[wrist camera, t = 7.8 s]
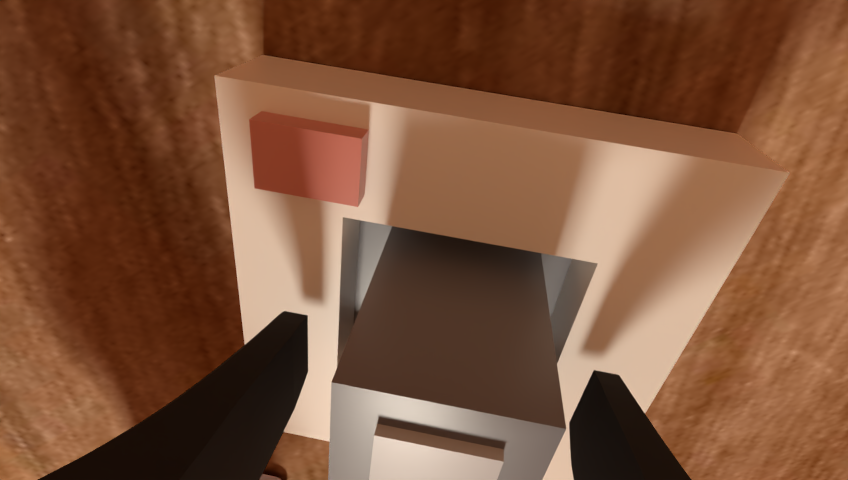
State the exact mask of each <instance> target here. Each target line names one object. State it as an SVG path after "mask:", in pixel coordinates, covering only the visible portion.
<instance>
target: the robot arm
mask: <svg viewBox="0 0 848 480" xmlns="http://www.w3.org/2000/svg"><path fill="white" fill-rule="evenodd" d="M307 373H308V315H303V314H298V313H293V312H287V311H283V312H282V313H280V314H279V315H278V316H277V317H276V318H275V319H274V320H272V321H271V322H270V323H269V324H268V325H267V326H266V327H265V328H264V329H262V330H261V331H260V332H259V333H258V334H257V335H256V336H254V337H253V338H252V339H251V340H250V341H249V342H248V343H246V344H245V345H244V346H243V347H242V348H241V349H239V350H238V351H237V352H236V353H234V354H233V355H232V356H231V357H230V358H228V359H227V360H226V361H225V362H224V363H222V364H221V365H220V366H219V367H217V368H216V369H215V370H214V371H212V372H211V373H210V374H208V375H207V376H206V377H204V378H203V379H202V380H200V381H199V382H198V383H196V384H195V385H194V386H192V387H191V388H190V389H188V390H187V391H186V392H184V393H183V394H182V395H180V396H179V397H178V398H176V399H175V400H173V401H172V402H170V403H169V404H168V405H166V406H165V407H163V408H162V409H160V410H159V411H157V412H156V413H154V414H153V415H151V416H150V417H148V418H146V419H145V420H143V421H142V422H140V423H139V424H137V425H135V426H134V427H132V428H131V429H129V430H127V431H126V432H124V433H122V434H121V435H119V436H117V437H116V438H114V439H112V440H111V441H109V442H107V443H105V444H104V445H102V446H100V447H99V448H97V449H95V450H93V451H92V452H90V453H88V454H86V455H84V456H83V457H81V458H79V459H77V460H75V461H73V462H71V463H69V464H67V465H65V466H63V467H61V468H60V469H58V470H56V471H54V472H52V473H50V474H48V475H46V476H44V477H42V478H40V479H38V480H281V479H280V478H278V477H275V476H270V475H266V474H262V473H263V471H264V469H265V467H266V465H267V463H268V462H269V460H270V458H271V456H272V454H273V452H274V450H275V448H276V446H277V444H278V442H279V440H280V438H281V436H282V434H283V432H284V429H285V427H286V425H287V423H288V421H289V419H290V417H291V415H292V413H293V411H294V409H295V406H296V404H297V401H298V398H299V396H300V393H301V390H302V388H303V385H304V382H305V379H306V376H307ZM569 432H570V453H571V466H572V472H573V478H574V480H691V479H690V477H689V476H688V475H687V473H686V472H685V471H684V469H683V468H682V467H681V465H680V464H679V462H678V461H677V460H676V458H675V457H674V455H673V454H672V453H671V451H670V450H669V448H668V447H667V445H666V444H665V443H664V441H663V440H662V438H661V437H660V435H659V434H658V433H657V431H656V430H655V428H654V427H653V425H652V424H651V422H650V421H649V419H648V418H647V416H646V415H645V413H644V412H643V410H642V409H641V407H640V406H639V404H638V403H637V401H636V400H635V398H634V397H633V395H632V394H631V392H630V391H629V389H628V388H627V386H626V385H625V383H624V382H623V380H622V379H621V377H620V376H619V375H617V374H612V373H607V372H602V371H596V370H594V371H593V373H592V375H591V377H590V379H589V381H588V384H587V386H586V388H585V390H584V392H583V394H582V396H581V398H580V401H579V403H578V405H577V407H576V409H575V411H574V413H573V416H572V418H571V420H570V422H569Z"/></svg>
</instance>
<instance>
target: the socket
mask: <svg viewBox="0 0 848 480" xmlns="http://www.w3.org/2000/svg"><path fill="white" fill-rule="evenodd" d="M214 77H215V86H216V94H217V103H218V112H219V121H220V130H221V139H222V148H223V157H224V166H225V175H226V183H227V192H228V201H229V210H230V219H231V228H232V237H233V246H234V255H235V264H236V272H237V281H238V290H239V299H240V308H241V317H242V326H243V335H244V344H246V343H248V342H249V341H250V340H251V339H252V338H253V337H254V336H256V335H257V334H258V333H259V332H260V331H261V330H262V329H264V328H265V327H266V326H267V325H268V324H269V323H270V322H271V321H272V320H274V319H275V318H276V317H277V316H278V315H279V314H280V313H282V312H283V311H287V312H293V313H298V314H303V315H308V373H307V376H306V379H305V382H304V385H303V388H302V390H301V393H300V396H299V398H298V401H297V404H296V406H295V409H294V411H293V413H292V415H291V417H290V419H289V421H288V423H287V425H286V427H285V429H284V432H286V433H291V434H296V435H301V436H306V437H311V438H315V439H320V440H325V441H330V412H331V382H332V379H333V377H334V374H335V372H336V369H337V367H338V364H339V361H340V359H341V356H342V354H343V351H344V349H345V346H346V344H347V341H348V338H349V336H350V333H351V331H352V328H353V326H354V323H355V320H356V318H357V315H358V313H359V310H360V308H361V305H362V302H363V300H364V297H365V295H366V292H367V290H368V287H369V284H370V282H371V279H372V277H373V274H374V272H375V269H376V267H377V264H378V261H379V259H380V256H381V254H382V251H383V249H384V246H385V243H386V241H387V238H388V236H389V233H390V231H391V228H392V226H394V227H400V228H405V229H411V230H416V231H422V232H427V233H433V234H438V235H444V236H449V237H455V238H460V239H466V240H471V241H477V242H482V243H488V244H493V245H499V246H504V247H510V248H516V249H521V250H527V251H532V252H538V253H541V256H542V263H543V270H544V277H545V284H546V291H547V298H548V305H549V312H550V319H551V326H552V333H553V340H554V347H555V354H556V361H557V368H558V375H559V382H560V389H561V396H562V403H563V410H564V417H565V424H566V431H565V433H564V435H563V437H562V439H561V441H560V443H559V445H558V448H557V450H556V452H555V454H554V456H553V458H552V460H551V462H550V464H549V467H548V469H547V471H546V473H545V475H544V477H543V479H542V480H574V478H573V472H572V466H571V453H570V432H569V422H570V420H571V418H572V416H573V413H574V411H575V409H576V407H577V405H578V403H579V401H580V398H581V396H582V394H583V392H584V390H585V388H586V386H587V384H588V381H589V379H590V377H591V375H592V373H593V371H594V370H596V371H602V372H607V373H612V374H617V375H619V376H620V377H621V379H622V380H623V382H624V383H625V385H626V386H627V388H628V389H629V391H630V392H631V394H632V395H633V397H634V398H635V400H636V401H637V403H638V404H639V406H640V407H641V409H642V410H643V412H644V413H646V411H647V410H648V408H649V406H650V405H651V403H652V401H653V400H654V398H655V396H656V395H657V393H658V391H659V390H660V388H661V386H662V385H663V383H664V381H665V380H666V378H667V376H668V375H669V373H670V371H671V370H672V368H673V366H674V365H675V363H676V361H677V360H678V358H679V356H680V355H681V353H682V351H683V350H684V348H685V346H686V345H687V343H688V341H689V340H690V338H691V336H692V335H693V333H694V331H695V330H696V328H697V326H698V325H699V323H700V321H701V320H702V318H703V316H704V315H705V313H706V311H707V310H708V308H709V306H710V305H711V303H712V301H713V300H714V298H715V296H716V295H717V293H718V291H719V290H720V288H721V287H722V285H723V283H724V282H725V280H726V278H727V277H728V275H729V273H730V272H731V270H732V268H733V267H734V265H735V263H736V262H737V260H738V258H739V257H740V255H741V253H742V252H743V250H744V248H745V247H746V245H747V243H748V242H749V240H750V238H751V237H752V235H753V233H754V232H755V230H756V228H757V227H758V225H759V223H760V222H761V220H762V218H763V217H764V215H765V213H766V212H767V210H768V208H769V207H770V205H771V203H772V202H773V200H774V198H775V197H776V195H777V193H778V192H779V190H780V188H781V187H782V185H783V183H784V182H785V180H786V178H787V177H788V175H789V173H790V172H788V171H787V170H786V169H784V168H783V167H782V166H780V165H779V164H778V163H776V162H775V161H773V160H772V159H771V158H769V157H768V156H767V155H765V154H764V153H763V152H761V151H760V150H759V149H757V148H756V147H755V146H753V145H752V144H751V143H749V142H748V141H747V140H745V139H744V138H743V137H741V136H740V135H739V134H737V133H730V132H724V131H718V130H712V129H706V128H700V127H694V126H688V125H682V124H676V123H670V122H664V121H658V120H652V119H646V118H640V117H634V116H628V115H622V114H616V113H610V112H604V111H598V110H592V109H586V108H580V107H574V106H568V105H562V104H556V103H550V102H544V101H538V100H532V99H526V98H520V97H514V96H508V95H502V94H496V93H490V92H483V91H477V90H471V89H465V88H459V87H453V86H447V85H441V84H435V83H429V82H423V81H417V80H411V79H405V78H399V77H393V76H387V75H381V74H375V73H369V72H363V71H357V70H351V69H345V68H339V67H333V66H327V65H321V64H315V63H309V62H303V61H297V60H291V59H285V58H279V57H273V56H267V55H261V56H259V57H257V58H254V59H252V60H250V61H247V62H245V63H243V64H240V65H238V66H235V67H233V68H231V69H228V70H226V71H224V72H221V73H219V74H217V75H214Z"/></svg>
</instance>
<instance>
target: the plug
mask: <svg viewBox="0 0 848 480" xmlns="http://www.w3.org/2000/svg"><path fill="white" fill-rule="evenodd" d="M565 431H566V424H565V417H564V410H563V403H562V396H561V389H560V382H559V375H558V368H557V361H556V354H555V347H554V340H553V333H552V326H551V319H550V312H549V305H548V298H547V291H546V284H545V277H544V270H543V263H542V256H541V253H538V252H532V251H527V250H521V249H516V248H510V247H504V246H499V245H493V244H488V243H482V242H477V241H471V240H466V239H460V238H455V237H449V236H444V235H438V234H433V233H427V232H422V231H416V230H411V229H405V228H400V227H394V226H392V228H391V231H390V233H389V236H388V238H387V241H386V243H385V246H384V249H383V251H382V254H381V256H380V259H379V261H378V264H377V267H376V269H375V272H374V274H373V277H372V279H371V282H370V284H369V287H368V290H367V292H366V295H365V297H364V300H363V302H362V305H361V308H360V310H359V313H358V315H357V318H356V320H355V323H354V326H353V328H352V331H351V333H350V336H349V338H348V341H347V344H346V346H345V349H344V351H343V354H342V356H341V359H340V361H339V364H338V367H337V369H336V372H335V374H334V377H333V379H332V382H331V412H330V445H329V477H328V480H542V479H543V477H544V475H545V473H546V471H547V469H548V467H549V464H550V462H551V460H552V458H553V456H554V454H555V452H556V450H557V448H558V445H559V443H560V441H561V439H562V437H563V435H564V433H565Z"/></svg>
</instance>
